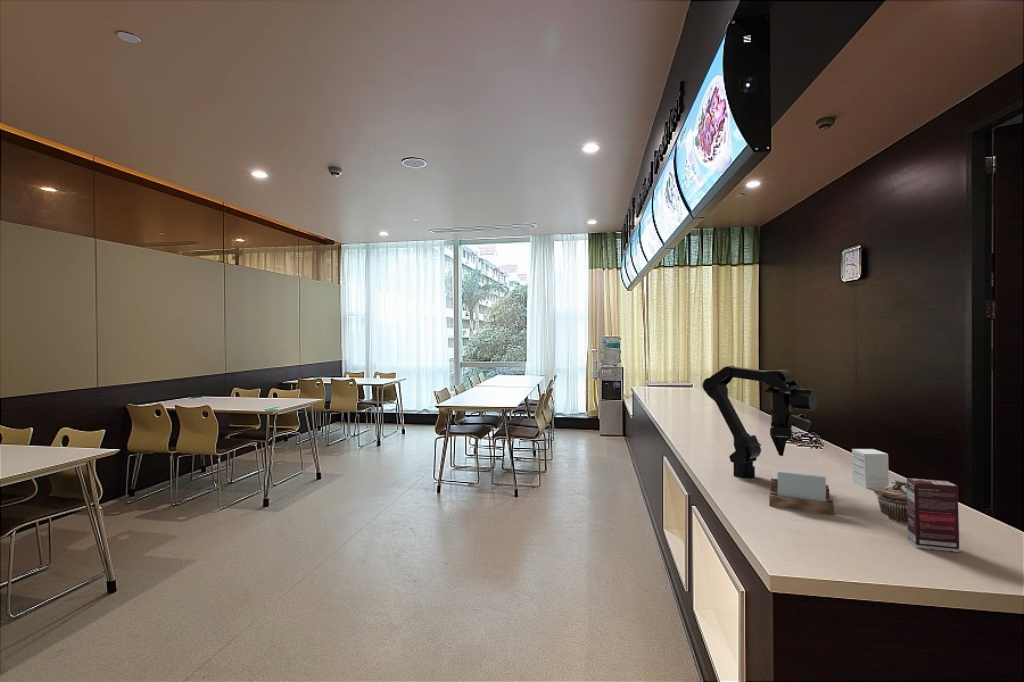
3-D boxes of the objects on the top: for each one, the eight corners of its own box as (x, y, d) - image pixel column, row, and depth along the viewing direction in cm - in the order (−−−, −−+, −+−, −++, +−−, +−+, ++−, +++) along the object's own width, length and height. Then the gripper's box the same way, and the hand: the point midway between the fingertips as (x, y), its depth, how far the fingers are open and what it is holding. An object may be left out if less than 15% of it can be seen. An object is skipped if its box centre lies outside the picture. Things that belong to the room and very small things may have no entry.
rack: (769, 508, 141) (769, 495, 141) (771, 490, 158) (770, 478, 158) (834, 518, 133) (834, 504, 133) (828, 497, 150) (828, 485, 150)
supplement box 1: (874, 485, 163) (874, 448, 163) (889, 492, 155) (889, 453, 155) (851, 484, 163) (851, 448, 163) (865, 491, 156) (865, 453, 156)
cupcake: (880, 508, 140) (880, 475, 140) (923, 517, 134) (923, 482, 134) (874, 517, 134) (874, 482, 134) (919, 526, 127) (919, 489, 127)
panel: (777, 505, 141) (777, 471, 141) (777, 503, 143) (777, 470, 142) (825, 512, 135) (825, 477, 135) (825, 510, 137) (825, 476, 136)
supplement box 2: (948, 544, 116) (948, 480, 116) (960, 553, 111) (959, 486, 111) (905, 540, 119) (905, 477, 118) (915, 548, 114) (914, 482, 114)
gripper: (810, 412, 148) (810, 462, 148) (807, 405, 164) (807, 449, 164) (769, 410, 154) (770, 457, 154) (771, 403, 170) (771, 446, 170)
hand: (781, 452), depth 160 cm, fingers open, 9 cm apart
